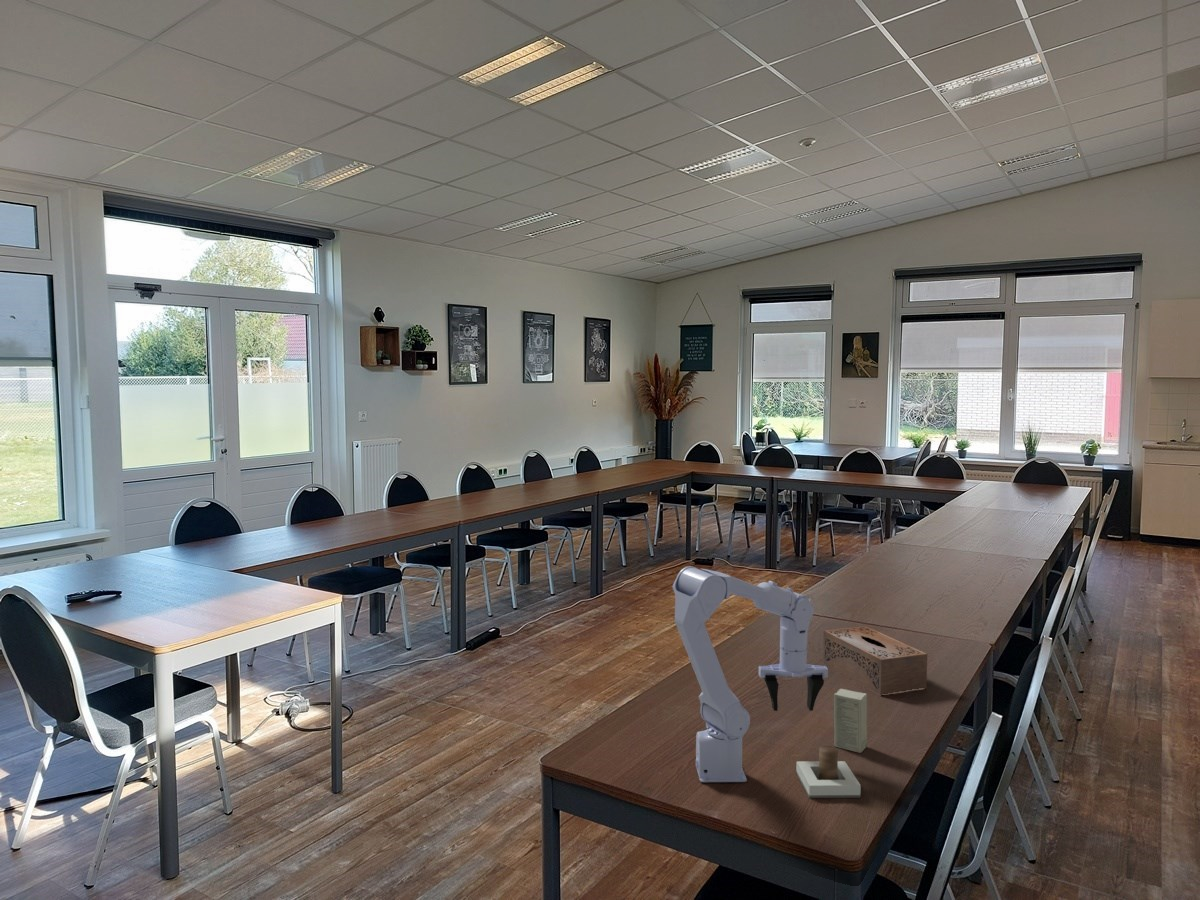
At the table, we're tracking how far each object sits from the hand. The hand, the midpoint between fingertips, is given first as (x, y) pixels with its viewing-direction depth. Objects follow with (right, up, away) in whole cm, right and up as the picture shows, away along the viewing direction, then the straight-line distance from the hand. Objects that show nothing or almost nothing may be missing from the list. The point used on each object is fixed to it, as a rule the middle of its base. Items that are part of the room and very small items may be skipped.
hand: (792, 708), depth 173 cm
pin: (+4, -11, -12) cm, 17 cm away
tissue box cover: (+34, -7, +48) cm, 59 cm away
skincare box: (+14, -10, +5) cm, 18 cm away
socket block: (+4, -11, -12) cm, 17 cm away
